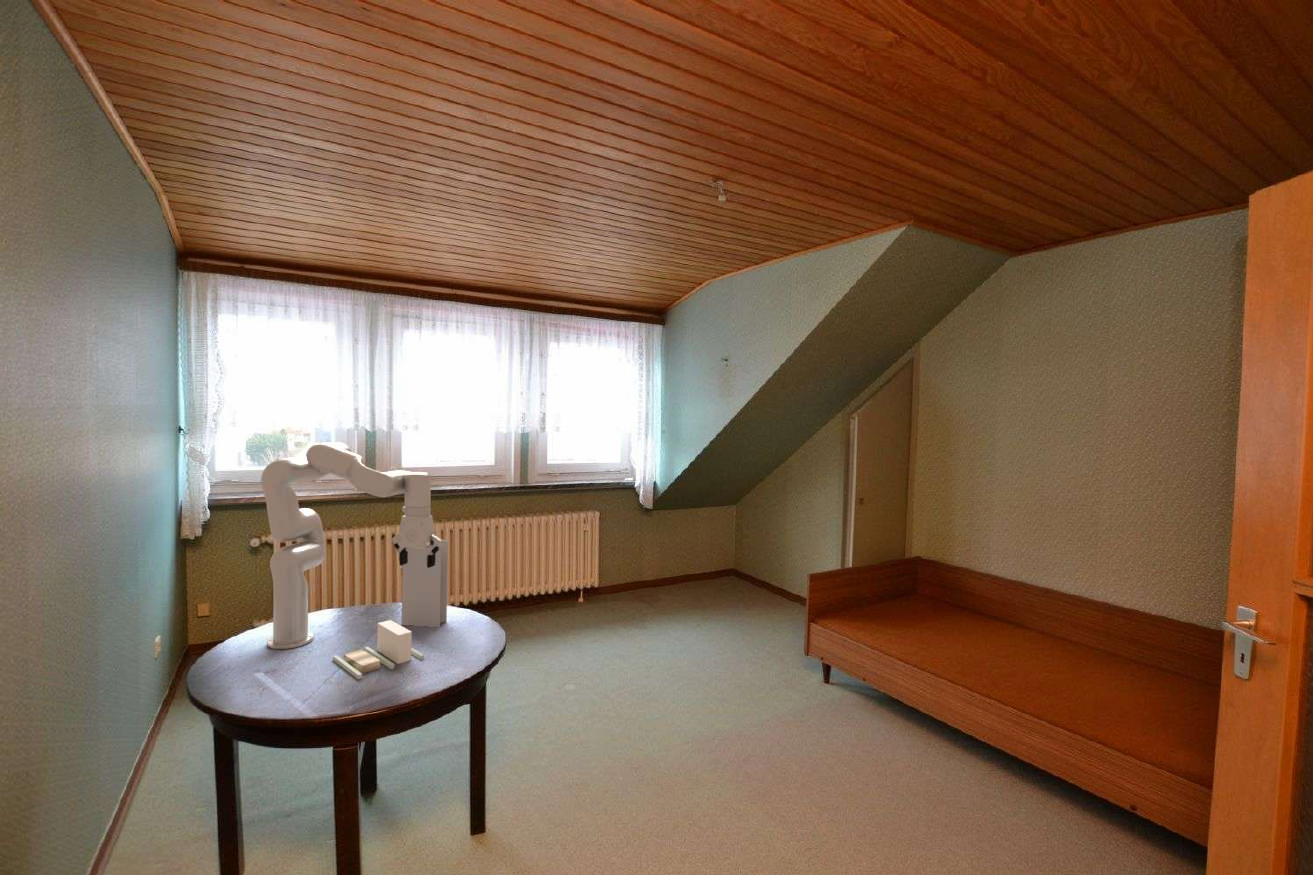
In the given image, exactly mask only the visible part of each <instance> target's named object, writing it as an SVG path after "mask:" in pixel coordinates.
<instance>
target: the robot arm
mask: <svg viewBox="0 0 1313 875" xmlns="http://www.w3.org/2000/svg"><path fill="white" fill-rule="evenodd" d="M365 462H366V461H365V459H364V457H363V456H361V455H359V454H356V453H355V452H354V453H353V452H352V450H351V449H350V447H349V446H348V445H346V444H345V443H343V442H321V443H316V444H313V445H312V446H310V447H309V448H308V450H307V452H306V454H305V456H297V457H296V456H294V457H293V456H292V457H285V458H279V459H276V460H274V461H271V462H270V463H269V464H267V465H266V467H264V469H263V472H262V474H261V478H260V484H261V488H262V491H263V495H264V498H265V504H266V510H267V515H268V516H267V517H268V523H269V529H270V533H271V536H272V538H273V539H274V540H275V541H276V542H279V543H280V542H281V543H283V542H284V543H285V542H290V541H295V540H296V542H295V543H293V544H288V545H285V546H283V547H280V548H279V549H277V550H275V551H274V552H273V554H272V556H271V558H270V560H269V567H270V571H271V576H272V577H271V578H272V586H273V589H272V591H273V595H272V596H273V602H272V604H273V606H272V607H273V608H272V609H273V610H272V611H273V612H272V613H273V614H272V616H273V617H272V618H273V620H272V621H273V626H272V629H273V630H272V632H273V634H272V635H273V636H272V637H270V638H269V639H268V640H267V643H266V644H267V647H268V648H269V647H270V648H269V649H273V650H287V649H292V648H293V649H294V648H299V647H301V646H305V645H307V644H309V643H310V642H312V641H313V640H314V633H312V632H310V631H309V583H308V581H307V580H308V579H307V578H306V576H305V574H304V572H305V571H308V570H311V569H314V568H317V567H318V566H320V565H322V563H323V562H324V560H325V559H326V555H327V550H326V541H325V535H324V528H323V524H322V520H321V516H320V515H319V514H318V513H317V512H316V511H315V510H314V509H311V508H307V507H306V508H305V507H304V508H303V507H301V508H300V505H299V498H298V497H297V496H298V495H297V494H296V492H295V490H293V488H292V487H291V485H294V484H302V483H308V482H309V483H310V482H314V481H317V480H320V479H321V478H324V477H326V476H328V475H332V476H336V477H338V478H341V479H343V480H345V481H348V483H349V484H350V485H351V486H352V487H353V488H355V489H356V490H359V491H361V492H363V493H366V494H369V495H372V496H374V497H378V498H387V497H392V496H396V495H397V496H398V495H401V494H404V506H402V507H401V512H403V513H404V515H402V516H401V518H400V519H401V520H400V523H399V524H400V525H399V533H398V534H397V535H395V536H393V537H392V538H391V542H393V544H394V548H395V549H396V551H397V553H399V554H398V561H399V566H402V565H404V564H407V563H408V552H407V551H406V549H407V548H410V549H426V551H427V552H428V553H429V555H427V567H428V568H430V567H433V566H434V565H435V554H436V553H437V551H438V550H439V549H440V548H441V546H442V544H443V540H444V539H442V538H440V537H438V536H436V535H435V524H434V519H433V515H431V507H432V505H431V501H432V500H431V496H432V495H431V493H432V492H431V491H432V489H431V488H432V485H431V484H432V482H431V480H432V479H431V478H432V477H431V474H430V473H429V472H423V471H414V472H413V471H407V470H391V471H386V472H385V471H384V472H381V471H379V470H375V469H373V468H370V467H367V466H366V465H365ZM434 542H436V546H435V547H434Z"/></svg>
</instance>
